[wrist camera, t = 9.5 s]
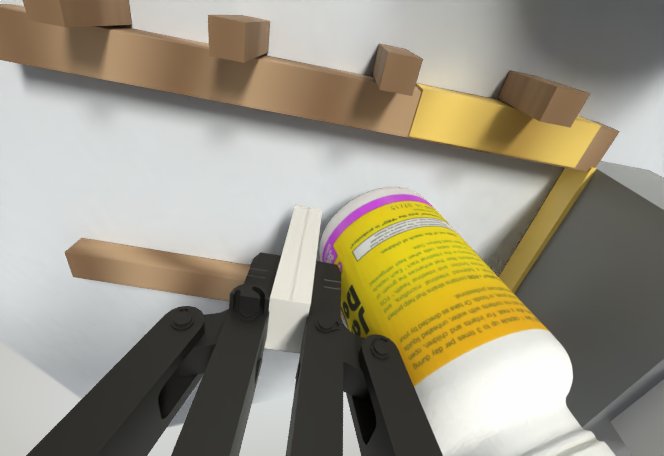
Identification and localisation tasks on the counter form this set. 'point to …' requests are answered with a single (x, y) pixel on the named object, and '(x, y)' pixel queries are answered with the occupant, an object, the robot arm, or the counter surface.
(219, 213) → the counter surface
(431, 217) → the supplement bottle
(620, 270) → the grey carton
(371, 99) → the wooden rack
